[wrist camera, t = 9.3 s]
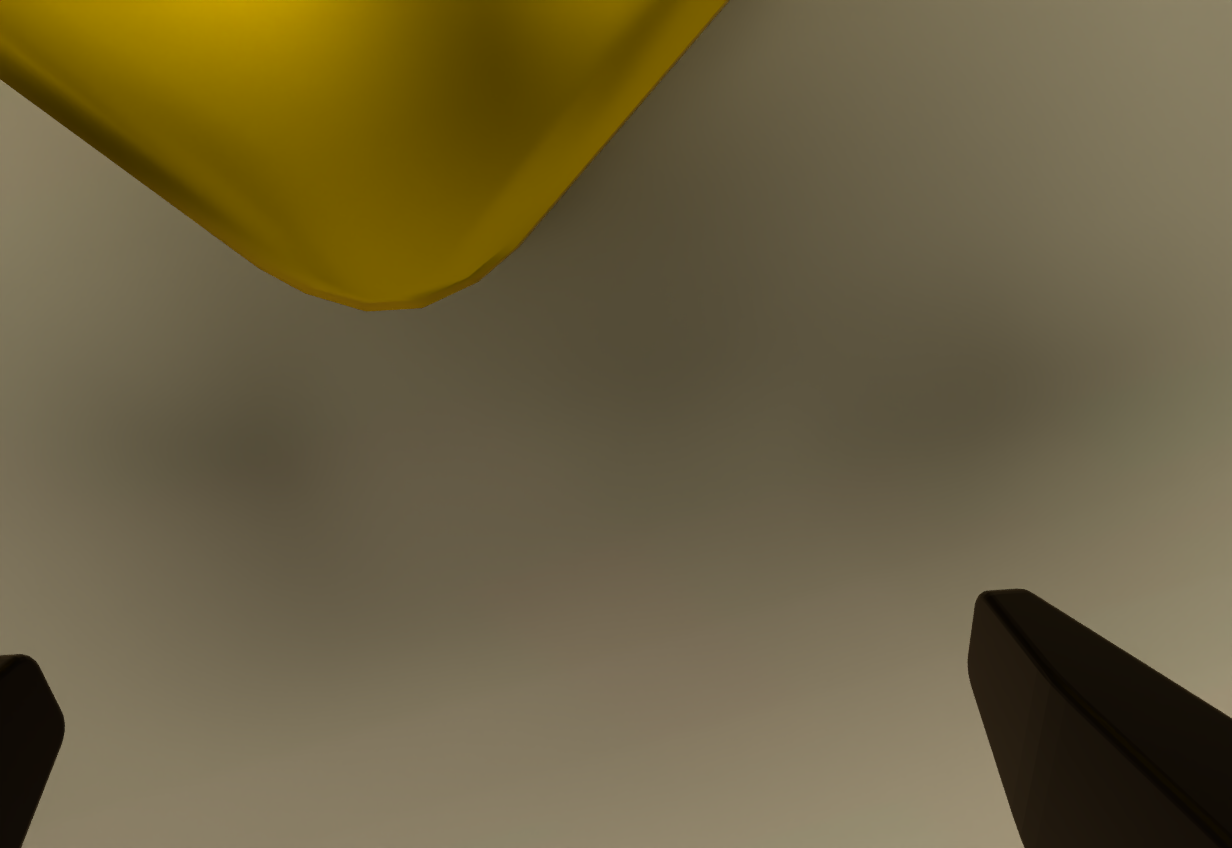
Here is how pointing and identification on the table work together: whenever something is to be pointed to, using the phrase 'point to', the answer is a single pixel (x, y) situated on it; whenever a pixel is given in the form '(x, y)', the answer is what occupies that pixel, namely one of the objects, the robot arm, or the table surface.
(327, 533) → the table surface
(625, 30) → the element tile
